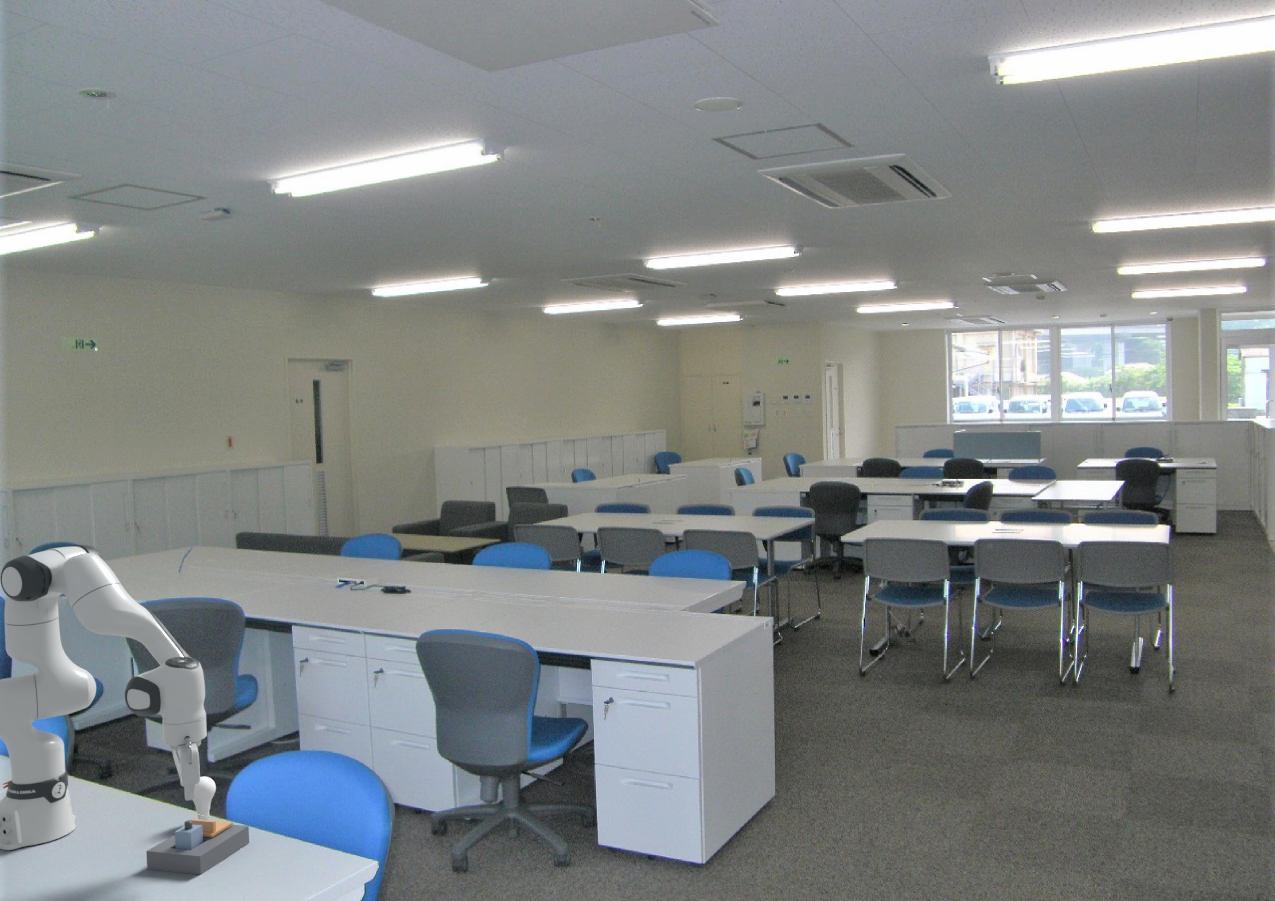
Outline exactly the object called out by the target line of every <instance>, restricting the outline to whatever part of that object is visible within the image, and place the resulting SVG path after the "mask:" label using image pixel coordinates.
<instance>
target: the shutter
mask: <svg viewBox="0 0 1275 901" xmlns="http://www.w3.org/2000/svg"><path fill="white" fill-rule="evenodd" d="M191 820H192V825H202V827H203V837H214V836H215V835H217V834H219V833H220V832H222V831H224V830H225V829H227V828H228V827H230V826H232V825H234V824H233V823H234V822H232V821H222V820H210V819H207V820H201V819H198V818H192V819H191Z"/></svg>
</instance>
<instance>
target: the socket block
mask: <svg viewBox="0 0 1275 901" xmlns="http://www.w3.org/2000/svg"><path fill="white" fill-rule="evenodd" d="M249 831H250V830H249V825H240V824H233V825H232V826H230V827H228V828H227V829H225V830H224V831H222V832H220V833H219V834H217V835H215V836H214V837H203V843H202V844H200V845H199V846H197V847H195V848H194V849H192V850H184V849H176V848H175V834H174V835H172V836H169V838H167V839H165V840H162V842H160V843H158V844H156V845H155V846H153V847H151V848H150V849H147V850H146V851H145V852H146V868H147V870H150V871H151V870H154V871H162V872H163V871H164V872H173V873H181V874H191V875H199V876H200V875H202V874H204V873H205V872H207V871H209V870H210V869H212V868H213V867H215V866H216V865H218V864H220V863H221V862H222V861H224V860H225V859H227V858H229V857H230V856H232V855H233V854H235V853H237V852H238V851H239V850H241V849H242V848H244V847H245V845H246V844H247V845H248V843H250V832H249ZM247 845H246V846H247ZM240 848H241V849H240Z"/></svg>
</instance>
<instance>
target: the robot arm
mask: <svg viewBox="0 0 1275 901" xmlns="http://www.w3.org/2000/svg"><path fill="white" fill-rule="evenodd" d="M0 586H1V588H2V591H3V592H4V594H5V599H4V600H5V601H4V602H5V603H4V617H3V619H4V641H5V642H4V644H5V651H6V653H7V655H8V657H10V658H11V660H12V659H13V660H14V661H17V662H20V663H24V664H28V665H31V666H33V667H36V669H37V672H36V673H33V674H27V675H21V676H14V677H13V676H12V677H5V678H1V679H0V739H1V741H3V743H4V745H5V747H6V749H7V752H8V756H9V762H10V764H9V765H10V771H11V772H10V773H11V780H9V781H8V782H4V783H2V785H5V786H3V787H2V789H6V788H7V791H6V794H5V796H4V797H3V798H2V799H1V800H0V850H3V851H11V850H16V849H20V848H23V847H29V846H34V845H39V844H40V845H41V844H44V843H48V842H52V841H54V840H57V839H60V838H62V837H65V836H66V835H68V834H70V833H72V832H73V831H74V830H75V829H76V828H77V825H76V823H75V821H76V820H77V818H76V815H75V814H73V806H72V801H71V800H72V799H71V795H70V790H69V789H68V786H69V774H68V770H67V769H66V758H65V757H66V756H65V743H64V741H63V739H62V738H61V736H59V735H57V734H54V733H52V732H48V731H44V730H39V729H37V728H35V727H34V726H33V722H35V721H37V720H43V719H48V718H54V717H60V716H67V715H69V714H70V715H71V714H73V713H75V712H76V713H77V712H79V711H82V710H84V709H86V708H88V707H90V705H91V704H92V702H93V700H94V699H95V697H96V694H97V693H96V692H97V682H96V680H95V679H94V676H93V675H92V674H91V673H90V671H88V670H86V669H85V668H82V667H80V666H78V665H77V664H75V663H74V662H73V661H72V660H70V658H69V657H68V655H67V654H66V652H65V650H64V648H63V645H62V640H61V639H62V638H61V632H60V630H61V629H60V618H59V616H60V613H59V612H60V611H59V602H58V601H59V597H60V596H61V595H64V596H65V598H66V600H67V602H68V603H69V606H70V607H71V609H72V611H73V614H74V615H75V617H76V618H77V620H78V622H80V624H81V625H82V626H83V627H85V629H86V630H88V632H91V633H94V634H97V635H103V636H117V637H125V638H128V639H132V640H135V641H137V642H139V643H141V644H142V645H143V646H144V647H145V648H146V649H147V651H148V652H149V653H150V654H151V655H152V657H153V658H154V660H156V662H157V663H158V664H159V666H157V667H156V668H154V669H151V670H148V671H144V672H143V673H140V674H137V675H136V676H133V677H132V678H131V679H130V680H129V681H128V683H126V687H125V690H124V700H125V703H126V706H127V708H128V710H129V711H130V712H131V713H132V714H134V715H135V716H138V717H149V716H150V717H151V716H154V715H160V716H161V717H162V722H161V723H162V743H164V744H165V745H169V749H170V750H171V752H172V757H173V761H174V763H175V767H176V770H177V774H178V776H179V779H180V786H181V787H183V788H184V789H183V790H184V800H185V801H187V802H188V801H193V799H194V789H195V784H198V783H199V782H200V777H201V772H200V756H199V755H200V754H199V748H198V747H199V746H201V745H202V740H203V739H205V738H206V737H207V735H208V734H207V731H208V730H207V713H206V710H205V706H204V703H205V699H206V685H207V674H206V673H205V670H204V669H203V667H202V664H201V662H200V661H199V660H198V659H195V658H193V657H191V656H190V655H189V654H188V653H187V652H186V651H185V650H184V648H183V647H182V646H181V645H180V644H179V643H178V640H176V639H175V637H174V636H173V635H172V634H171V633H170V631H169V630H168V629H167V627H166V626H165V625H164V624H163V623H162V621H161V620H160V619H159V618H158V617H157V616H156V615H155V614H154V612H153V611H151V610H150V609H149V608H147V607H145V606H143V605H141V604H140V603H139V602H137V601H136V600H135V599H134V598H133V597H132V596H131V595H130V594H129V592H127V591H126V589H125V587H124V586H123V584H122V583H121V581H120V579H119V578H118V577H117V575H116V574H115V572H114V571H113V569H111V567H110V566H109V565H108V564H107V563H106V561H105V560H104V559H103V557H102V555H101V553H100V552H99V550H98V549H96V547H94V546H92V545H88V544H74V545H72V546H62V547H61V546H60V547H55V548H54V547H53V548H48V549H46V550H43V551H38V552H35V553H32V554H27V555H20V556H18V557H14V558H13V559H11V560H9V561H7V562H6V563H5V564H4V566H3V567H2V570H1V573H0Z"/></svg>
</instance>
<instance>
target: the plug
mask: <svg viewBox="0 0 1275 901" xmlns="http://www.w3.org/2000/svg"><path fill="white" fill-rule="evenodd" d="M183 824H184V825H183V826H181V827H179V829H176V831H174V835H175V848H176V849H184V850H192V849H194V848H195V847H197V846H199V845H200V844H202V843H203V827H202V825H192V819H190V820H186V821H184V823H183Z"/></svg>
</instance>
